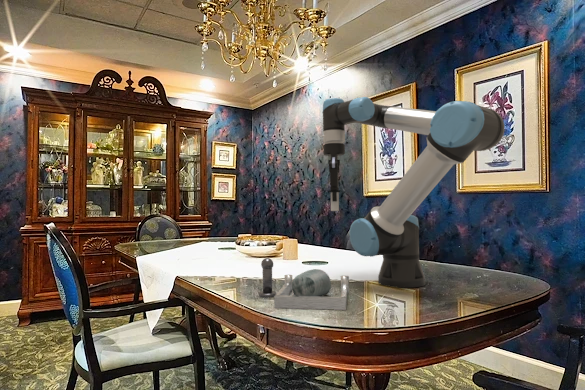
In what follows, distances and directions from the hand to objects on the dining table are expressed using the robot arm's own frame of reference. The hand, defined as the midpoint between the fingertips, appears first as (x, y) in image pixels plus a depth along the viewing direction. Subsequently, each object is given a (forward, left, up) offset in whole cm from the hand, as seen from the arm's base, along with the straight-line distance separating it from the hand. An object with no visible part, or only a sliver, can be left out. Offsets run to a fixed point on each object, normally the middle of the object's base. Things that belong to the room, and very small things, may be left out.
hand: (334, 210), depth 138 cm
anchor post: (+19, +24, -24) cm, 39 cm away
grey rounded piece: (+6, +27, -25) cm, 37 cm away
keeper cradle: (+5, +28, -24) cm, 37 cm away
